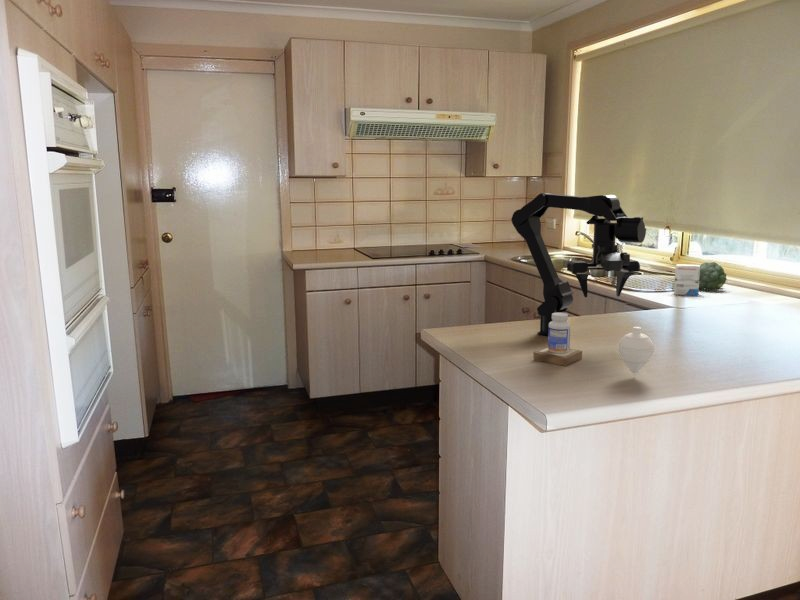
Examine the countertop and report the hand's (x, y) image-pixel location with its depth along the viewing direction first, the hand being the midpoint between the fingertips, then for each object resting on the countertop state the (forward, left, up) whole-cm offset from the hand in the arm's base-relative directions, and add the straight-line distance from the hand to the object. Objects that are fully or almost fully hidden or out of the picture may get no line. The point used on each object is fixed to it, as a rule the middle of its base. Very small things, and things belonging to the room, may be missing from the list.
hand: (601, 296), depth 174 cm
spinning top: (+20, -26, -13) cm, 35 cm away
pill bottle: (-1, -23, -11) cm, 25 cm away
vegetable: (-1, +108, -13) cm, 109 cm away
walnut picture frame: (-1, -23, -13) cm, 26 cm away
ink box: (-5, +91, -13) cm, 92 cm away
